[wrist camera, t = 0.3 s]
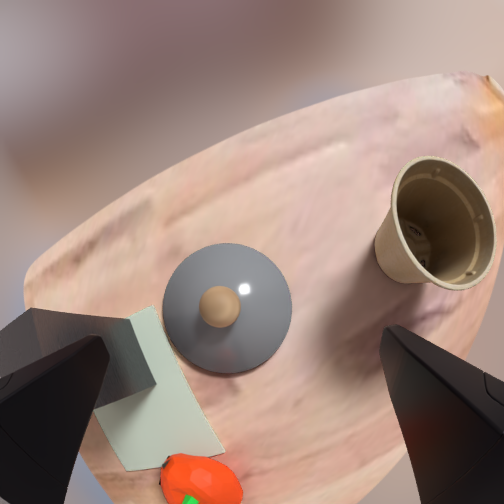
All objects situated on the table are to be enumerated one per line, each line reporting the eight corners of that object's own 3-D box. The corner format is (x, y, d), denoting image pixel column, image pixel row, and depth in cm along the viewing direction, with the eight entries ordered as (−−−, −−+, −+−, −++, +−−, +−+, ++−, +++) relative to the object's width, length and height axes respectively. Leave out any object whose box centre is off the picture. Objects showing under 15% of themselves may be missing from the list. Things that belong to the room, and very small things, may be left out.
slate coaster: (314, 337, 21) (315, 337, 20) (197, 389, 21) (195, 391, 20) (255, 224, 24) (254, 221, 23) (149, 278, 24) (146, 277, 23)
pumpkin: (188, 497, 18) (162, 532, 12) (165, 441, 20) (128, 472, 13) (255, 502, 17) (239, 544, 11) (237, 443, 18) (214, 485, 12)
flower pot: (435, 312, 20) (494, 303, 12) (346, 288, 22) (382, 268, 14) (444, 220, 22) (492, 183, 14) (364, 192, 24) (395, 138, 16)
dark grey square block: (156, 384, 21) (66, 419, 9) (107, 400, 21) (18, 427, 9) (129, 318, 23) (31, 307, 11) (84, 341, 22) (-9, 338, 11)
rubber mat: (225, 450, 19) (224, 452, 19) (128, 469, 19) (126, 471, 18) (153, 305, 23) (151, 304, 23) (70, 346, 23) (68, 346, 23)
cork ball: (250, 317, 21) (245, 316, 18) (215, 333, 21) (204, 335, 18) (233, 282, 22) (225, 275, 19) (199, 298, 22) (186, 294, 19)
